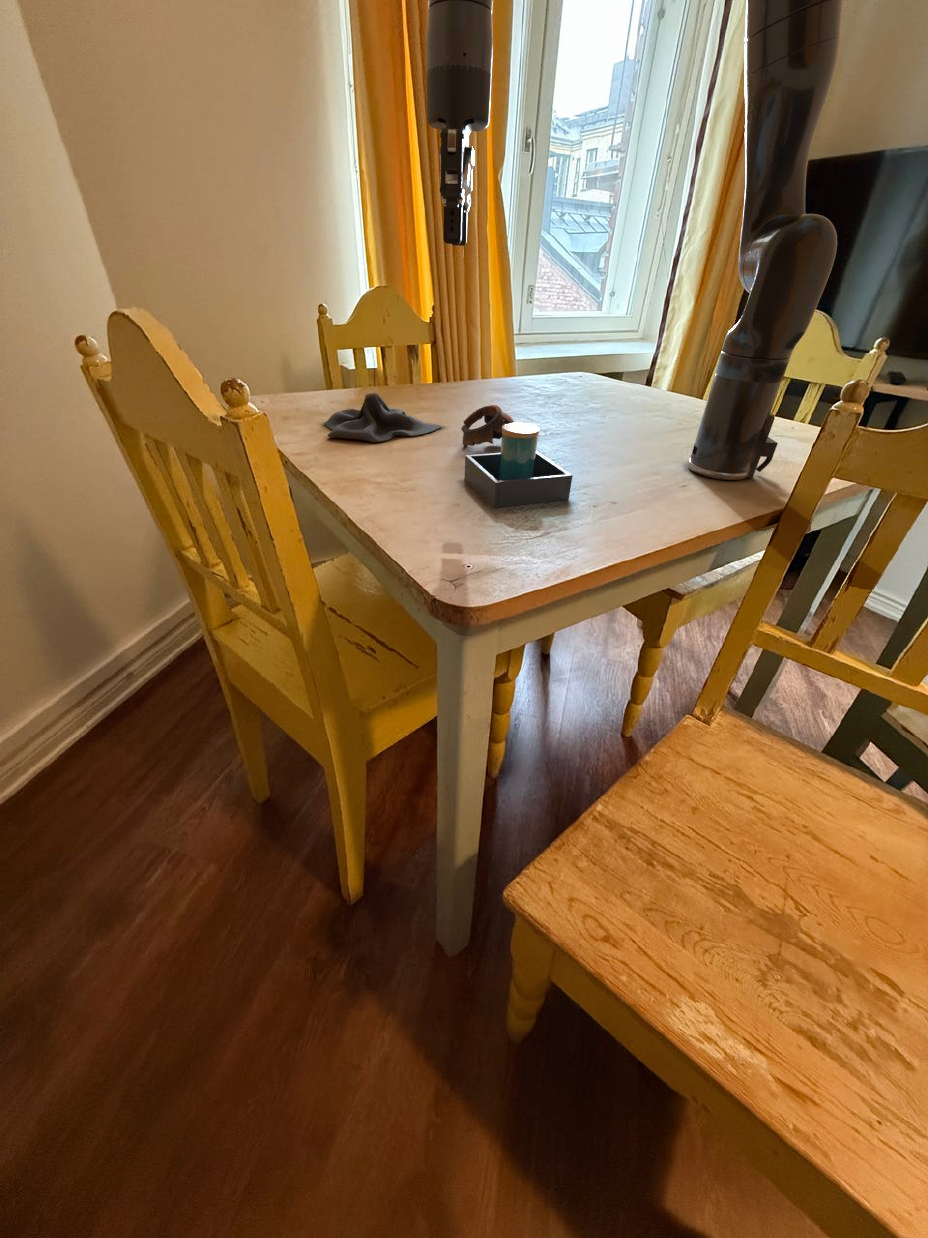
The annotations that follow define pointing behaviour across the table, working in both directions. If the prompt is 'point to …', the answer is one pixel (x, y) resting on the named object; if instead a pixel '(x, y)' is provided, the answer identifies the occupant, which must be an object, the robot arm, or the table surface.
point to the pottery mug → (490, 429)
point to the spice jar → (518, 451)
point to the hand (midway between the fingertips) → (455, 244)
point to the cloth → (375, 422)
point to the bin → (517, 482)
